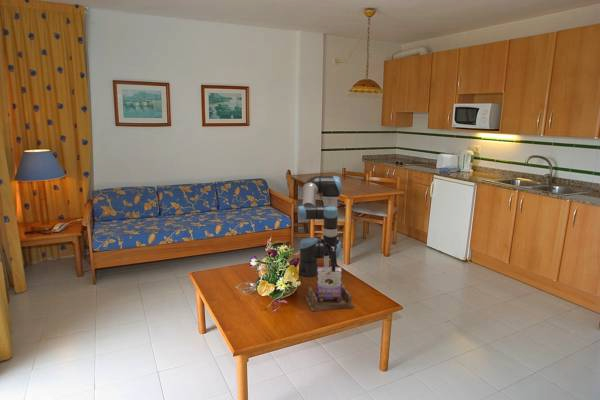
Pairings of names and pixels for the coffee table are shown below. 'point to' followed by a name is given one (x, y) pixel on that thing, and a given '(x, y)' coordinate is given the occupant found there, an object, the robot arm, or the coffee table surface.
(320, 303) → the peg frame
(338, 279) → the candy box
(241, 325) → the coffee table surface
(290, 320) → the coffee table surface
